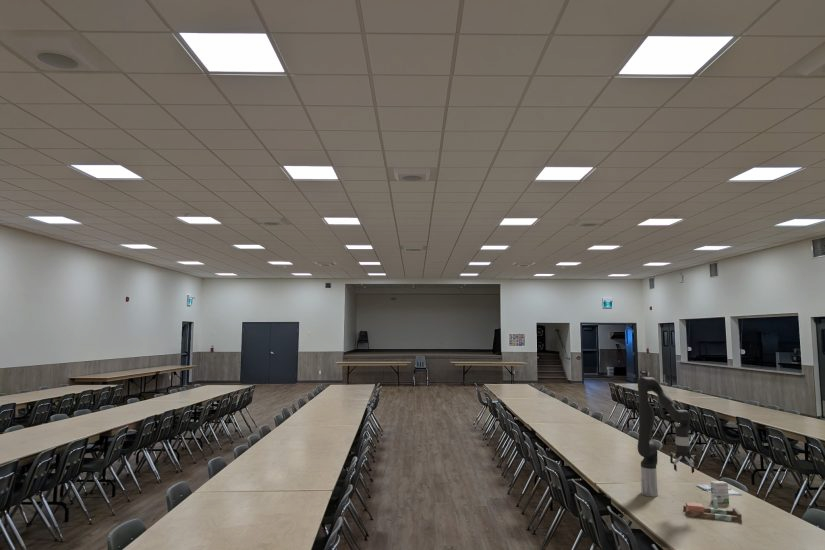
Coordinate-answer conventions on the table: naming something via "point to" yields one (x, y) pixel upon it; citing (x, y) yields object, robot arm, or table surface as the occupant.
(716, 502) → the post
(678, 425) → the robot arm
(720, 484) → the ink box
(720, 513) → the slot track
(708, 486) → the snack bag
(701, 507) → the block
